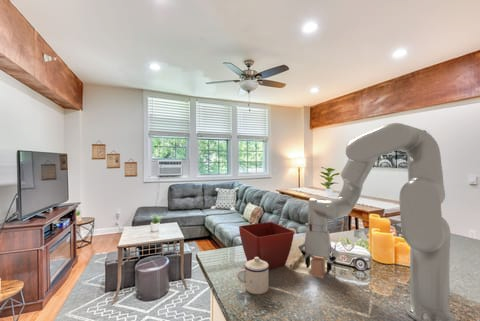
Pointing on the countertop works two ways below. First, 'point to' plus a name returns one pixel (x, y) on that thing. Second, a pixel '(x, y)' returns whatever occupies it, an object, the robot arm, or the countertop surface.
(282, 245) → the plant pot
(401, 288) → the countertop surface
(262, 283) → the teacup with lid
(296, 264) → the cream flat slab
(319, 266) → the rust block
